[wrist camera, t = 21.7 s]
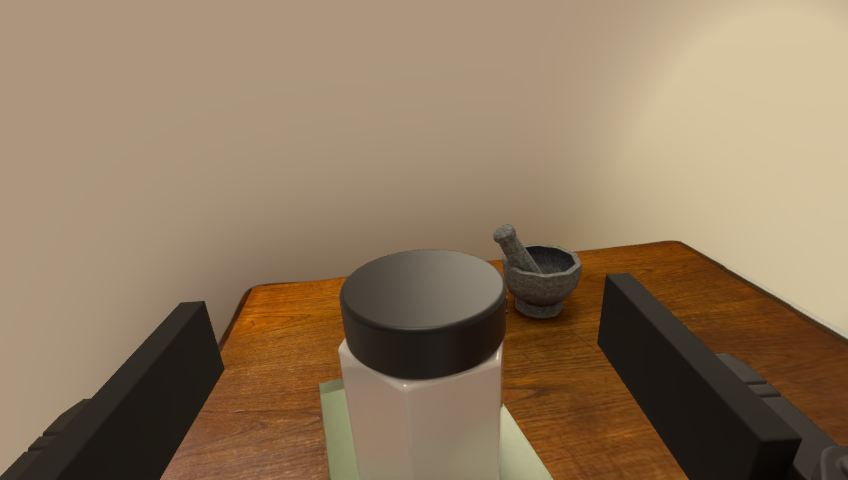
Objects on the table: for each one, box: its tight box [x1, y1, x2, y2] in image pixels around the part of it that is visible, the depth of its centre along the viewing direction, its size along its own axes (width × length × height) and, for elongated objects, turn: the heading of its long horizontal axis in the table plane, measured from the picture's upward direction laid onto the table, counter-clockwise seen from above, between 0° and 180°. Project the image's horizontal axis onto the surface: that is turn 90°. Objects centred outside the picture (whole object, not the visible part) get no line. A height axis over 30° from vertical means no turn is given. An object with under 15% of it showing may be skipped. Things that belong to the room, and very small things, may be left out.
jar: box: [338, 249, 508, 480], centre depth 23 cm, size 9×8×12 cm
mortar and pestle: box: [493, 224, 582, 319], centre depth 54 cm, size 11×9×12 cm
